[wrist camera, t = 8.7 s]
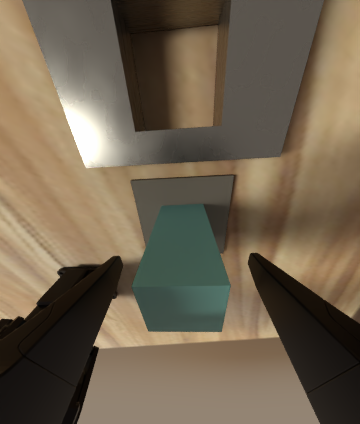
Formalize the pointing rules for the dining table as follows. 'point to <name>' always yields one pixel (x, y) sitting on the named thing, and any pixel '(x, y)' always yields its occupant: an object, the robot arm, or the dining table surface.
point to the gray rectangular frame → (128, 85)
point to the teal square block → (182, 274)
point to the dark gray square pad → (185, 200)
